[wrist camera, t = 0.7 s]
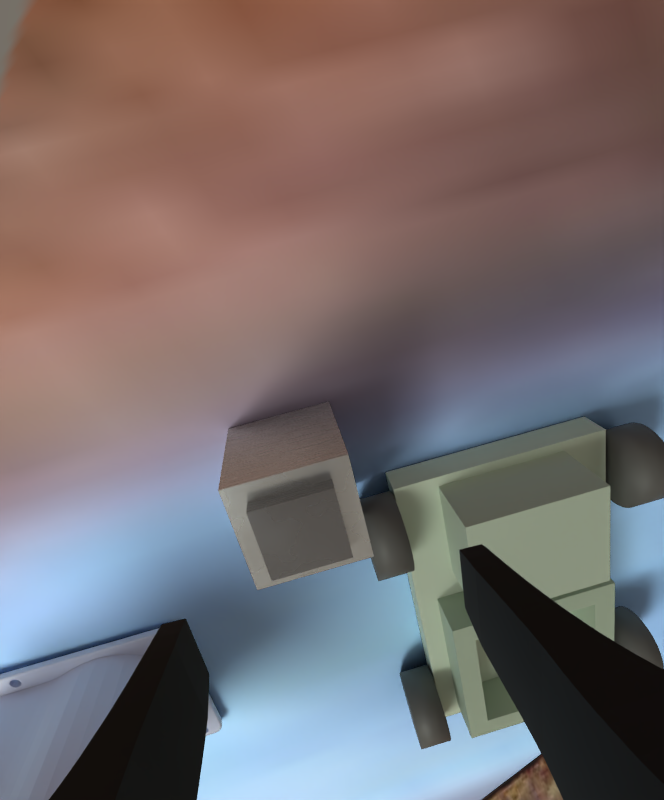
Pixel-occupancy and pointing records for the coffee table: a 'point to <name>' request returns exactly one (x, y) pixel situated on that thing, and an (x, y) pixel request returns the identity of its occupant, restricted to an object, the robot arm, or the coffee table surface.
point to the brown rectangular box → (529, 784)
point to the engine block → (293, 496)
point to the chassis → (509, 550)
